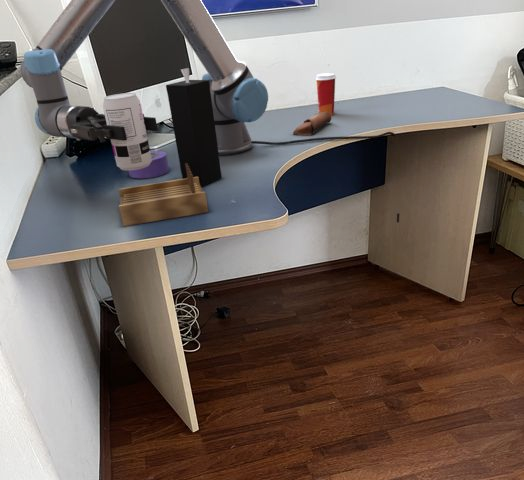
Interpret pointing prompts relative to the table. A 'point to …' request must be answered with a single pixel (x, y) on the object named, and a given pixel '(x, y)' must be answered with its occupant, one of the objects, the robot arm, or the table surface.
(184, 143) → the tissue box
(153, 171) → the tape roll
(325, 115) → the sunglasses case
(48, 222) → the table surface
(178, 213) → the dish rack
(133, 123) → the supplement can
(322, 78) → the paper cup
